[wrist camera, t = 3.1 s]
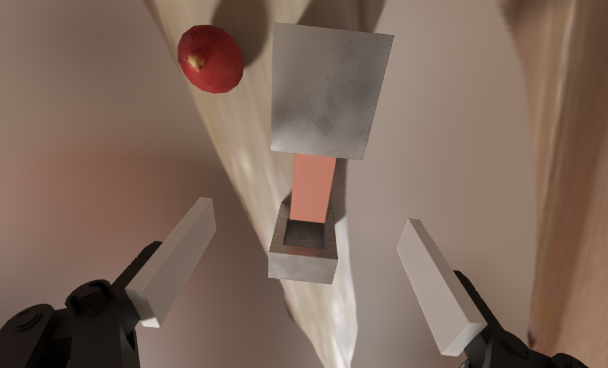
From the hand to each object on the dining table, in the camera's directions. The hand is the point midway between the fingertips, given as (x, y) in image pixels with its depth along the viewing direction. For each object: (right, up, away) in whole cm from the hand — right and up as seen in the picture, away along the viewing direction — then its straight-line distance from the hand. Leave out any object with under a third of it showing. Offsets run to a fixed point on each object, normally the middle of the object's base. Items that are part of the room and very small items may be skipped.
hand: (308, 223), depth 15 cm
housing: (+2, +14, +10) cm, 18 cm away
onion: (-9, +17, +10) cm, 21 cm away
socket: (0, -3, +20) cm, 20 cm away
